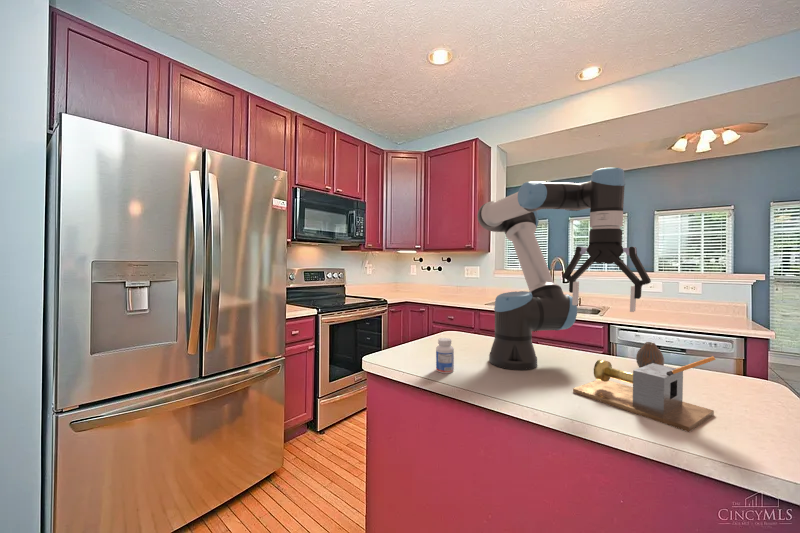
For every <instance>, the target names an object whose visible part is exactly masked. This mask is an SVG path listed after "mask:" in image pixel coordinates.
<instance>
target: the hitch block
mask: <svg viewBox="0 0 800 533" xmlns="http://www.w3.org/2000/svg"><path fill="white" fill-rule="evenodd" d="M677 368H678V367H673V366H667V365H664V366H663V365H659V364H654V363H652V364H649V365H646V366H644V367H641V368H639V367H638V368H636V369H633V371H632V373H633V384H632V386H629V385H626V384H623V383H618V382H616V381H612V380H610V379H609V380H608V381H607V382H604V381H601V380H597V379H596V380H594V381H591V382H587V383H585V384H582V385H579V386H576V387H574V388H572V392H573V393H574V394H577V395H580V396H583V397H585V398H589V399H591V400H595V401H597V402H600V403H603V404H606V405H609V406H612V407H614V408H618V409H621V410H623V411H626V412H628V413H629V412H630V413H632V414H636V415H638V416H640V417H644V418H647V419H650V420H652V421H656V422H658V423H661V424H664V425H667V426H670V427H673V428H676V429H678V430H680V431H681V430H682V431H685V432H688V433H690V432H692V430H694V429H695V428H697V427H699V426H700V425H701V424H703V423H704V422H706V421H707V420H708V419H710V418H712V417H713V416H714V415H715V410H713V409H710V408H706V407H702V406H700V405H696V404H692V403H689V402H685V401H684V400H683V395H684V393H683V392H684V391H683V390H684V388H683V385H684V371H681V372H678V373H675V374H673V372H672V370H675V369H677Z"/></svg>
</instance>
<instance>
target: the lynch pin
mask: <svg viewBox="0 0 800 533" xmlns="http://www.w3.org/2000/svg"><path fill="white" fill-rule="evenodd" d="M593 376H594V378H595V379H596V380H601V381H604V382H607V381H608V380H609V381H610V379H615V380H618V381H621V382H626V383H629V384H632V385H633V372H629V371H624V370H621V369H616V368H613V366H612V363H611V362H610V361H608V360H603V359H597V361H595V364H594V366H593Z"/></svg>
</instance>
